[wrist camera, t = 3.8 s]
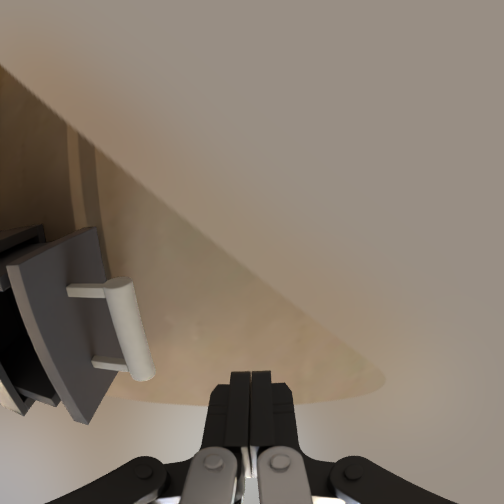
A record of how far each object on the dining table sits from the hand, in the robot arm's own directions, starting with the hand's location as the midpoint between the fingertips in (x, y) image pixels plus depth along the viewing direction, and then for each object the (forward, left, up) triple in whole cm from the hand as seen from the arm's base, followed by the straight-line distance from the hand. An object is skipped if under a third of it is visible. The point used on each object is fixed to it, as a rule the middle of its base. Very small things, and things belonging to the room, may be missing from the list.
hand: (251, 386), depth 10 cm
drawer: (-10, -10, -8) cm, 16 cm away
